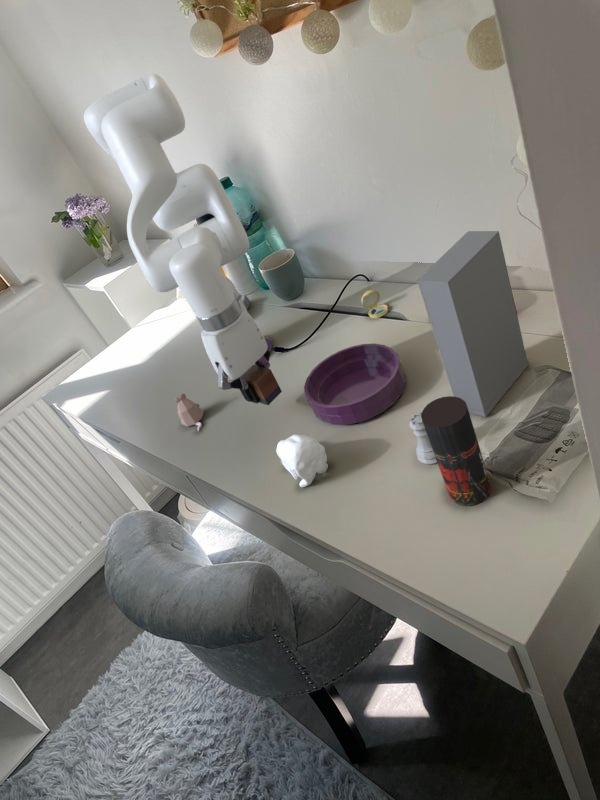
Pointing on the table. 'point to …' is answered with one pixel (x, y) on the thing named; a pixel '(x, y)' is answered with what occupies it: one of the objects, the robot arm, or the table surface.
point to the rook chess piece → (422, 440)
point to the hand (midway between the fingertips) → (261, 392)
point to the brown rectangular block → (263, 383)
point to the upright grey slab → (475, 320)
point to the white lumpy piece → (302, 457)
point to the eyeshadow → (373, 304)
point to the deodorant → (456, 450)
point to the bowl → (355, 384)
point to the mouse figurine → (189, 411)
